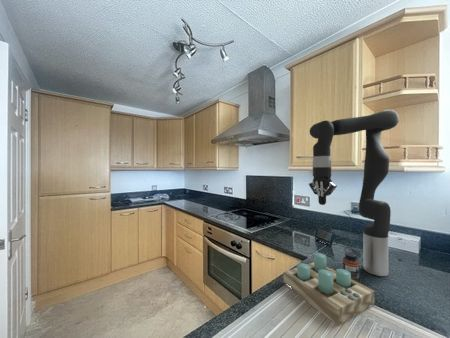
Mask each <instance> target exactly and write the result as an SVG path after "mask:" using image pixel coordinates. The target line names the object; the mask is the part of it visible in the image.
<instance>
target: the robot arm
mask: <svg viewBox="0 0 450 338" xmlns="http://www.w3.org/2000/svg"><path fill="white" fill-rule="evenodd" d="M399 121H400V117H399V114H398V113H397V111H395V110H393V109H384V110H381V111H377V112H374V113H372V114H369V115H363V116H356V117H350V118H348V117H347V118H341V119H335V120H333V121H330V120H322V121H319V122H317V123H314V124H312V126H311V127H310V128H309V134H310V136H311V137H312V138H313V139H317V142H316V143H315V144H314V145H313V146H312V177H313V179H312V182H310V183H308V186H309V187H310V189H311V190H312V192H313V194H314V195H317V196H318V197H317V200H318V204H319V205H322V206H324V205H326V204H327V196H330V195H332V193H333V192H334V191H335V190H336V188H337V187H338V186H337V184H334V182H332V178H331V177H332V159H331V145H332V142H333V138H334V136H341V135H348V134H353V133H358V132H363V131H365V156H364V163H363V164H364V165H363V166H364V167H363V178H362V186H361V187H362V188H361V193H360V197H359V202H358V213H359V215H360V216H361V217H362V218H365V219H369V220H372V221H373V224H371V225H370V224H369V225H365V226H363V228H362V230H363V232H362V234H363V235H362V237H363V238H362V239H363V240H362V243H363V247H362V251H363V252H362V254H363V256H362V257H363V260H362V261H363V263H362V264H363V265H362V266H363V267H362V268H363V270H365V272H367V273H369V274H371V275H375V276H377V277H387V276H389V232H390V229H391V214H392V213H391V212H392V211H391V207H390V205H389V203H387V202H386V201H383V200H377V199H376V200H375V193H376V191H377V189H378V187H379V186H380V184H381V183H382V182H383V181H384V180H385V179H386V177H387V175H388V174H389V168H390V157H389V154H388V153H387V151H386V149H385V148H384V146H383V145H382V141H381V140H382V132H384V131H388V130H391V129H394V128H395V127H396V126H397V125H399Z"/></svg>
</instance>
